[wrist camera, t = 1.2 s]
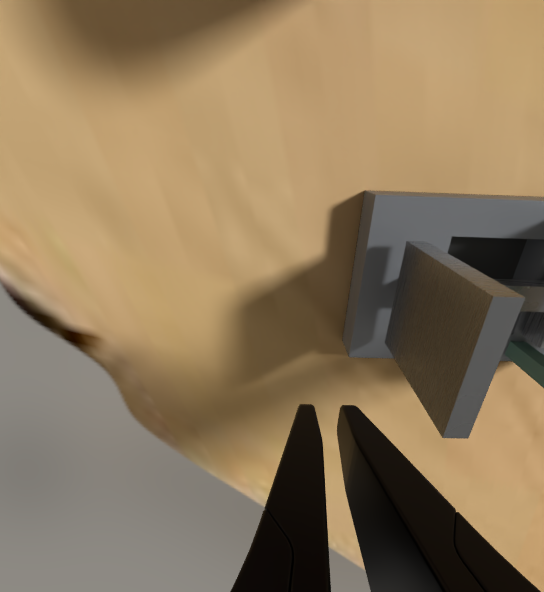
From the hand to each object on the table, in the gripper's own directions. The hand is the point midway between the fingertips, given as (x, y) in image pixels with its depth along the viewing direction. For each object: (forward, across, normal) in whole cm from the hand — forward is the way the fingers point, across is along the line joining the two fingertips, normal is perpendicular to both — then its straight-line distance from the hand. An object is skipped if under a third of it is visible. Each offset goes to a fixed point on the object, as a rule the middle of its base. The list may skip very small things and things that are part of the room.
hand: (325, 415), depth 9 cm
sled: (+10, -12, 0) cm, 16 cm away
